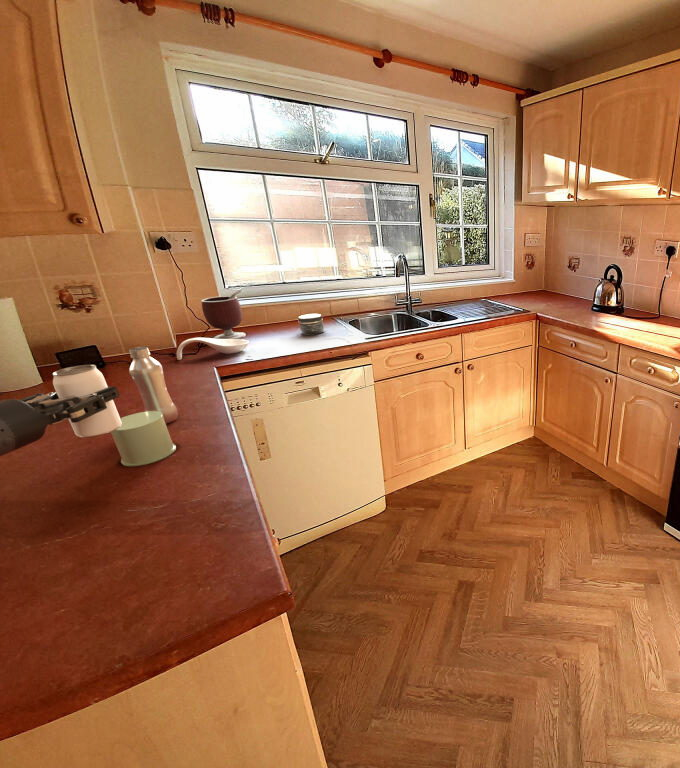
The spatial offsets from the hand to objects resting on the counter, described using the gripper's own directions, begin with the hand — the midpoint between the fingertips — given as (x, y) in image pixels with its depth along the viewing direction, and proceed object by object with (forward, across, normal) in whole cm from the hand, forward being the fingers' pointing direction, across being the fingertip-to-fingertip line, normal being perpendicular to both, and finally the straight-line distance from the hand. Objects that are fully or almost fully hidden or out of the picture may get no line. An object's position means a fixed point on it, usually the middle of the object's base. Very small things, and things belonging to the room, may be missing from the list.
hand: (98, 390), depth 78 cm
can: (-2, 0, +7) cm, 8 cm away
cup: (+9, +5, +20) cm, 22 cm away
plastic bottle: (+25, +16, +20) cm, 35 cm away
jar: (+114, +25, +19) cm, 118 cm away
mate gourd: (+105, +58, +19) cm, 121 cm away
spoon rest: (+81, +46, +19) cm, 95 cm away
